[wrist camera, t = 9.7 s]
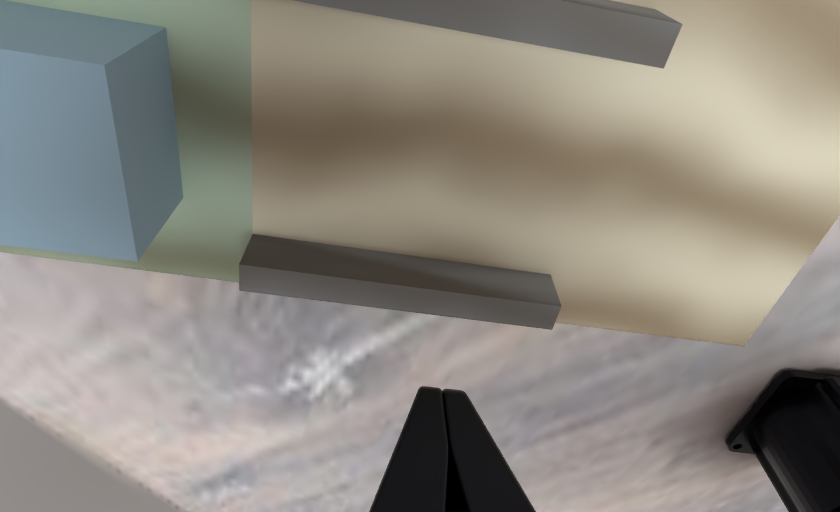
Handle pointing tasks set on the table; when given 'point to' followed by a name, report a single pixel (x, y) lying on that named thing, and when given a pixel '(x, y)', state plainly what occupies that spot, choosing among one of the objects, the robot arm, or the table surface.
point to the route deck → (502, 155)
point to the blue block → (85, 133)
